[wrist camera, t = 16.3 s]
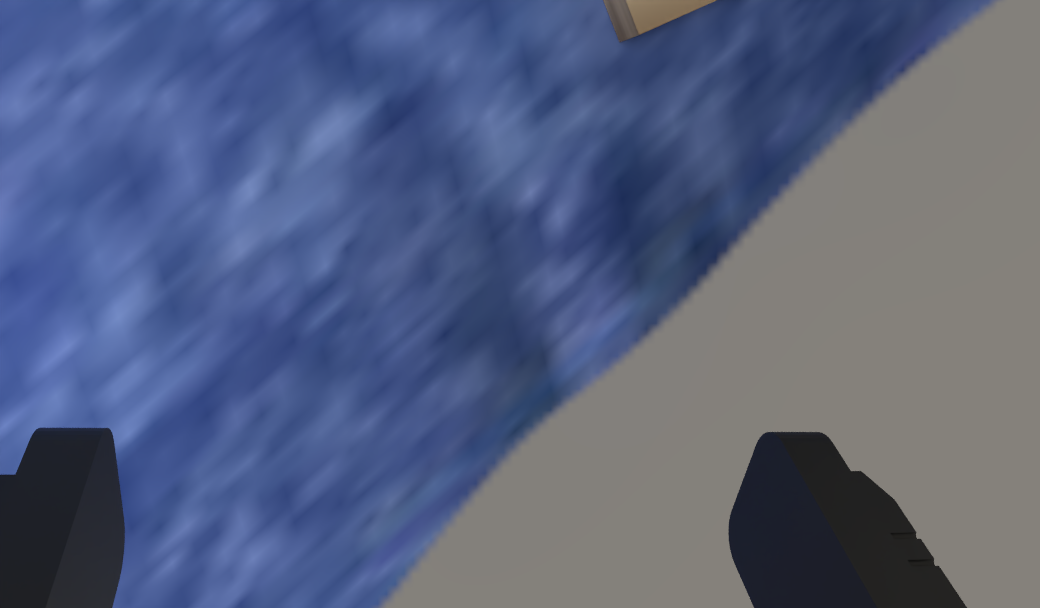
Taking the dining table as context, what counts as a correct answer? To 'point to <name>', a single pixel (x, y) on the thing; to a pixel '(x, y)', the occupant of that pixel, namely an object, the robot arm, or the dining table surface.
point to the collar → (646, 14)
